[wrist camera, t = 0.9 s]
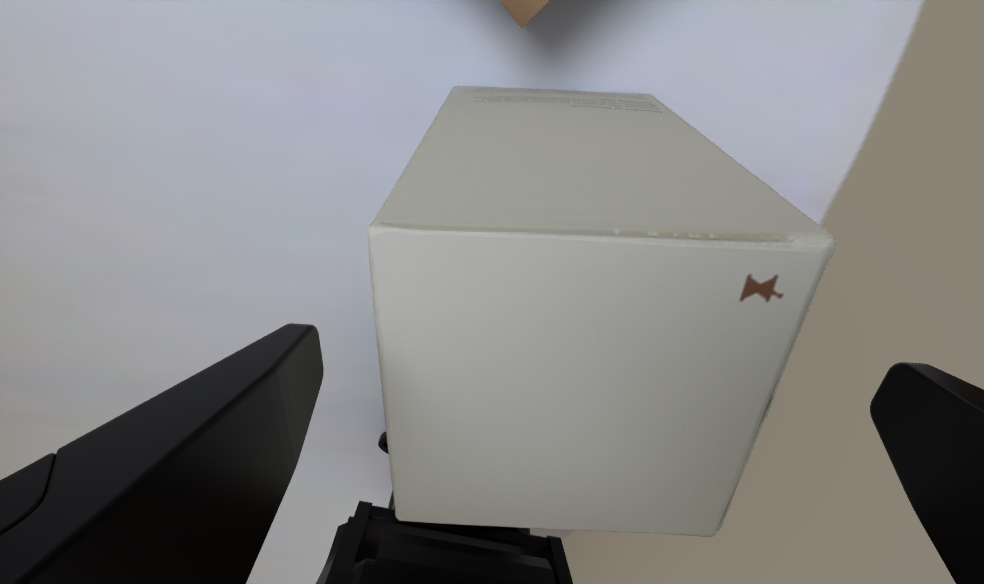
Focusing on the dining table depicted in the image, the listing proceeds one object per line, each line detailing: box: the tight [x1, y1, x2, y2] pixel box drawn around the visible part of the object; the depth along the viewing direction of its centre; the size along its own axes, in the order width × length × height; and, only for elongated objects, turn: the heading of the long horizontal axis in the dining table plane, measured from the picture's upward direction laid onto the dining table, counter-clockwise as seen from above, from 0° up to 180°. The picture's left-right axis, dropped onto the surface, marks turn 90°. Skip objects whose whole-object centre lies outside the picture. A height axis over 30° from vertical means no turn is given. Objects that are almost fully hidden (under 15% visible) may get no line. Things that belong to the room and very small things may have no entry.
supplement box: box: [368, 86, 836, 537], centre depth 15 cm, size 7×7×13 cm
